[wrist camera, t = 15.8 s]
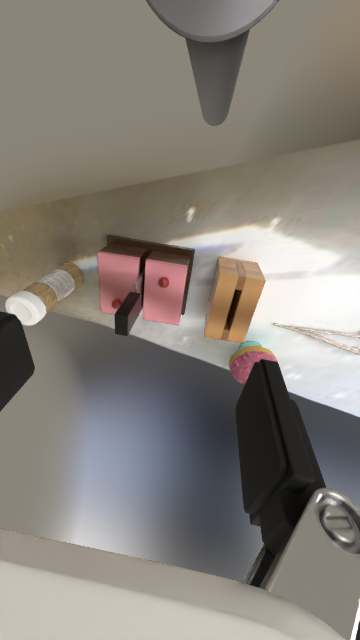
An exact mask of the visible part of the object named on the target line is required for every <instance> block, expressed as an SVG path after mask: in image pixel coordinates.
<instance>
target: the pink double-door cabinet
mask: <svg viewBox="0 0 360 640" xmlns="http://www.w3.org/2000/svg"><path fill="white" fill-rule="evenodd" d="M194 253H195V249H190V248H184V247H178V246H172V245H166V244H160V243H154V242H148V241H142V240H136V239H130V238H124V237H118V236H112V235H108V236H107V246H105V247H104V248H103V249H101V250H100V251H99V252H97V256H98V271H99V285H100V299H101V312H106V313H112V314H115V313H116V311H117V310H118V308H119V307H120V305H121V304H122V303H123V301H124V300H125V298H126V297H127V295H128V294H129V292H134V282H135V281H136V279H137V278H138V276H139V275H140V274H141V272H142V271H143V269H144V268H145V282H144V303H143V307H142V308H143V319H145V320H151V321H156V322H162V323H168V324H173V325H179V322H180V317H181V315H184V313H185V307H186V301H187V295H188V289H189V283H190V277H191V271H192V265H193V259H194Z"/></svg>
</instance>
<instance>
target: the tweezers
mask: <svg viewBox="0 0 360 640" xmlns="http://www.w3.org/2000/svg"><path fill="white" fill-rule="evenodd" d="M274 325H276V326H280V327H283V328H286V329H290V330H293V331H296V332H299V333H303V334H305V335H308V336H311V337H314V338H317V339H319V340H322V341H324V342H327V343H329V344H332V345H334V346H337V347H339V348H342V349H344V350H348V351H351V350H352V351H351V352H354V353H356V354H357V355H360V349H355V348H352V347H350V346H347V345H345V344H342V343H339V342H336V341H333V340H331V339H328V338H325V337H323V336H320V335H318V334H315V333H312V332H309V331H313V332H319V333H326V334H335V335H344V336H350V337H359V338H360V334H356V333H340V332H331V331H321V330H313V329H305V328H299V327H293V326H287V325H281V324H275V323H274ZM307 330H308V331H307ZM350 349H351V350H350Z"/></svg>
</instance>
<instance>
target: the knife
mask: <svg viewBox="0 0 360 640" xmlns="http://www.w3.org/2000/svg"><path fill="white" fill-rule="evenodd" d="M144 282H145V268H144V269H143V271H142V272H141V274H140V275H139V276H138V278H137V279H136V281H135V282H134V292H129V294H128V295H127V297H126V298H125V300H124V301H123V303H122V304H121V305H120V307H119V308H118V310H117V311H116V313H115V333H116V334H119V335H125V336H128V334H129V332H130V330H131V328H132V326H133V324H134V323H135V321H136V319H137V317H138V315H139V313H140V311H141V309H142V307H143V303H144Z"/></svg>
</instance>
